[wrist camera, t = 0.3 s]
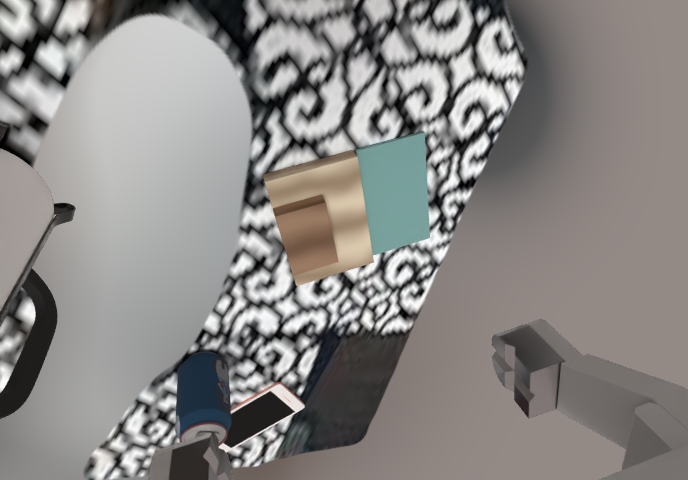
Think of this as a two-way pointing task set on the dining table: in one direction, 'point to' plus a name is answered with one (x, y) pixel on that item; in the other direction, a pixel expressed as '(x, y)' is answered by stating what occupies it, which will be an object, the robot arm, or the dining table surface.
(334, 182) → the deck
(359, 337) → the dining table surface
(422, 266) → the dining table surface
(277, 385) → the cell phone
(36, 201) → the coffee press
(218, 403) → the soda can
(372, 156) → the mat
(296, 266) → the tile
